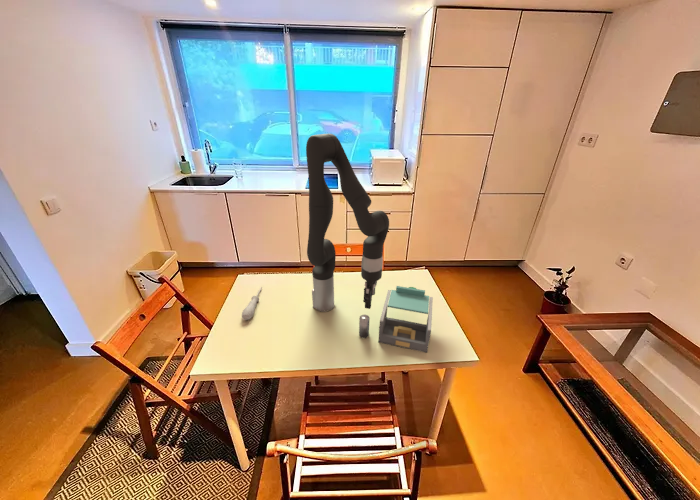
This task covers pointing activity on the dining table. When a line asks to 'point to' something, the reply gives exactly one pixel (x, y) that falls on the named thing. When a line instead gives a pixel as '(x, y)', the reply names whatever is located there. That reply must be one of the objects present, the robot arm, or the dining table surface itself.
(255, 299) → the screwdriver
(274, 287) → the dining table surface
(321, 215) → the robot arm
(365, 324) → the pin
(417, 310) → the lid
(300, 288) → the dining table surface
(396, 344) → the housing
